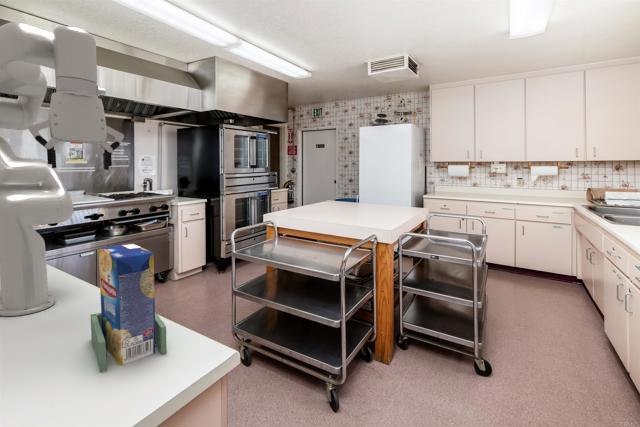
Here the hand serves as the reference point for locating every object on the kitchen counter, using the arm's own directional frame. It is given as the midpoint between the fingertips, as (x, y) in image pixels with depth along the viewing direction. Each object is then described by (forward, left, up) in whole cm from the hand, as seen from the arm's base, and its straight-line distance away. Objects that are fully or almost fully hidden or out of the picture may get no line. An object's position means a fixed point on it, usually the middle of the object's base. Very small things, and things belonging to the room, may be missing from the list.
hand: (81, 168), depth 76 cm
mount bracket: (+14, +6, -38) cm, 41 cm away
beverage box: (+15, +6, -38) cm, 42 cm away
